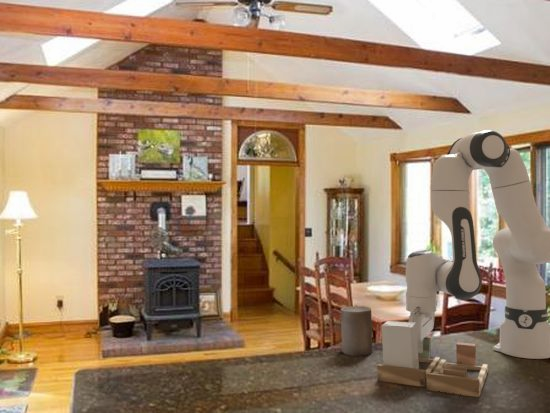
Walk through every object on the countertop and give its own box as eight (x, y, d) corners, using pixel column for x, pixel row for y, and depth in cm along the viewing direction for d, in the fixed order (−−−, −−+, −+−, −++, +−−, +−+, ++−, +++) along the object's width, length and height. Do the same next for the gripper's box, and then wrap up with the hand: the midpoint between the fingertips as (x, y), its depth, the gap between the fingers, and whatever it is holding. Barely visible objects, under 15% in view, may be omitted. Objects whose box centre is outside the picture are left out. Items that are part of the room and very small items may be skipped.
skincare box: (419, 378, 142) (418, 322, 142) (413, 384, 136) (412, 326, 136) (388, 373, 146) (387, 319, 146) (381, 380, 140) (381, 323, 140)
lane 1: (402, 354, 164) (401, 335, 164) (443, 359, 158) (443, 339, 158) (377, 380, 140) (377, 357, 140) (425, 387, 134) (424, 363, 134)
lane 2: (444, 361, 156) (444, 341, 156) (489, 366, 151) (489, 345, 151) (426, 389, 132) (426, 365, 132) (479, 397, 126) (478, 371, 127)
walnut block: (446, 383, 137) (446, 364, 137) (467, 386, 135) (467, 366, 135) (443, 389, 133) (443, 369, 133) (464, 392, 130) (464, 372, 130)
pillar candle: (377, 350, 170) (376, 303, 170) (365, 357, 161) (364, 308, 162) (349, 347, 175) (348, 301, 175) (336, 353, 167) (335, 305, 167)
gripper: (424, 311, 149) (425, 360, 149) (437, 300, 168) (438, 344, 168) (402, 309, 152) (403, 358, 152) (417, 298, 171) (418, 342, 170)
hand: (421, 350), depth 160 cm, fingers closed on lane 1, 2 cm apart
